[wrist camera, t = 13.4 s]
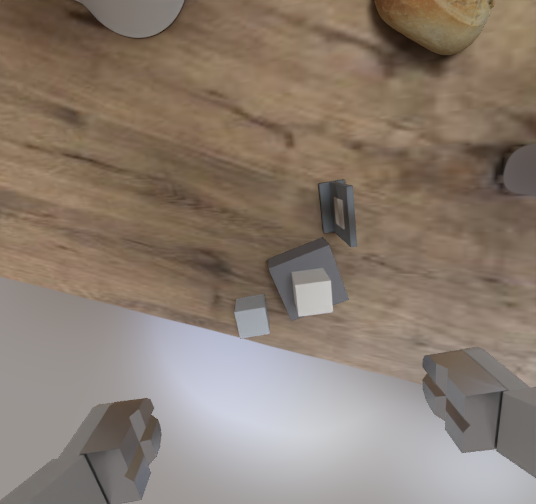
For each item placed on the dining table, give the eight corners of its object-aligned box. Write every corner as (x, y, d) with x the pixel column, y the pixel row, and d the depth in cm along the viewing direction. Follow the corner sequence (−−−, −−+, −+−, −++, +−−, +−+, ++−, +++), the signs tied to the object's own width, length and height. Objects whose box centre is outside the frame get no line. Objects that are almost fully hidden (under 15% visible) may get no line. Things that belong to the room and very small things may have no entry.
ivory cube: (291, 272, 44) (295, 285, 40) (323, 267, 44) (330, 280, 40) (294, 300, 46) (298, 316, 41) (325, 296, 46) (332, 312, 41)
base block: (267, 258, 49) (268, 268, 44) (322, 236, 48) (329, 244, 43) (288, 306, 52) (291, 321, 47) (340, 286, 51) (348, 299, 46)
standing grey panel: (318, 183, 45) (333, 188, 36) (343, 179, 45) (365, 183, 36) (323, 232, 47) (339, 249, 38) (347, 228, 47) (368, 244, 38)
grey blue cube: (236, 298, 51) (234, 312, 46) (264, 293, 51) (264, 307, 46) (242, 322, 52) (240, 338, 47) (268, 318, 52) (269, 333, 47)
